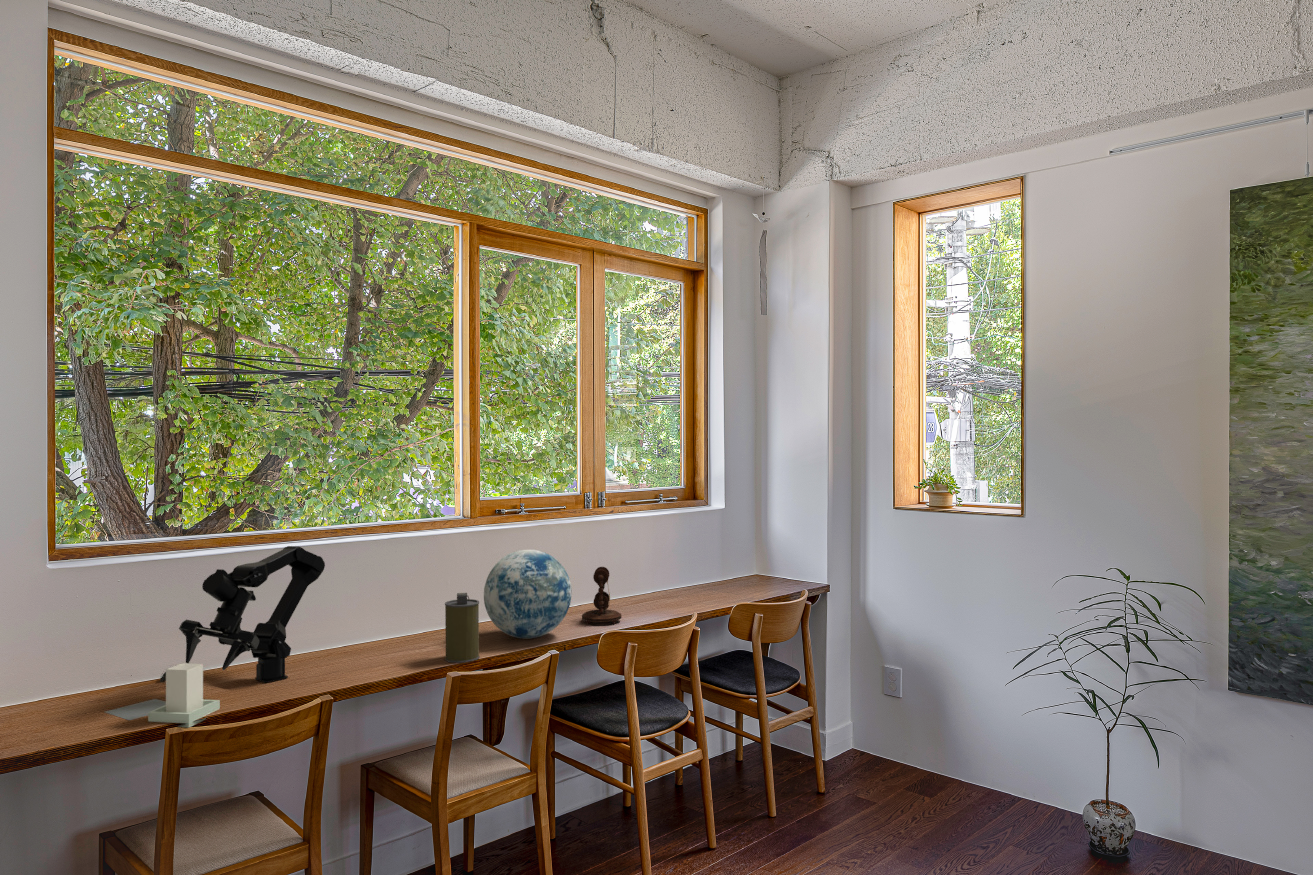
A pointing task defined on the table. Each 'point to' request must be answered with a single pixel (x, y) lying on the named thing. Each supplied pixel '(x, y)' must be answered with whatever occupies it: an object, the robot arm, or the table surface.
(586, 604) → the table surface
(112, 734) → the table surface
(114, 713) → the coaster
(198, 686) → the white block
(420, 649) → the table surface
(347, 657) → the table surface
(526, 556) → the globe
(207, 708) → the tray
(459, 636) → the canister
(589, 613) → the dark pedestal ornament
